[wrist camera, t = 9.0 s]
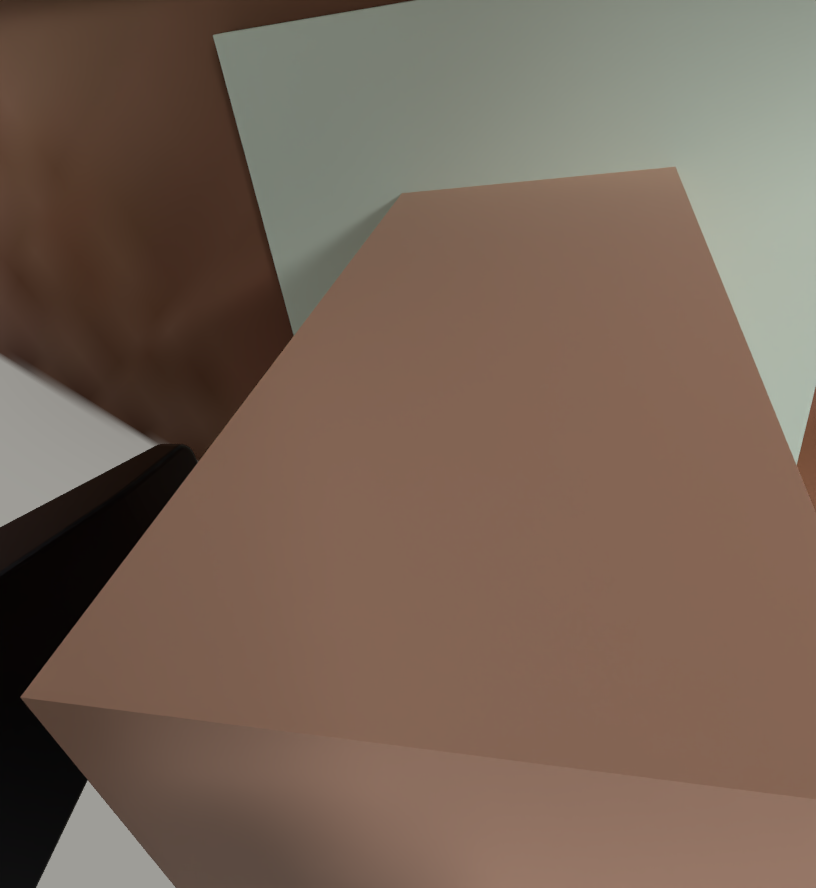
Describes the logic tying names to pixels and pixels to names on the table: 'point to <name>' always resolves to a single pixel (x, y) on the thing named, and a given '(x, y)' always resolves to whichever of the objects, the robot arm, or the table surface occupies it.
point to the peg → (475, 579)
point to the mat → (547, 134)
